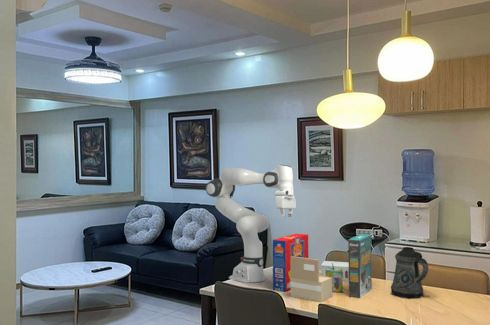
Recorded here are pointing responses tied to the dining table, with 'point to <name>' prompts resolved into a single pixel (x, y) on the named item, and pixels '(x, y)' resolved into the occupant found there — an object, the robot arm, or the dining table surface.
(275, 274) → the pasta box
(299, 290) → the carton
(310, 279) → the flap
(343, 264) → the supplement box
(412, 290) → the beer stein
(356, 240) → the cake mix box
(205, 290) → the dining table surface
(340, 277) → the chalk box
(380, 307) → the dining table surface
